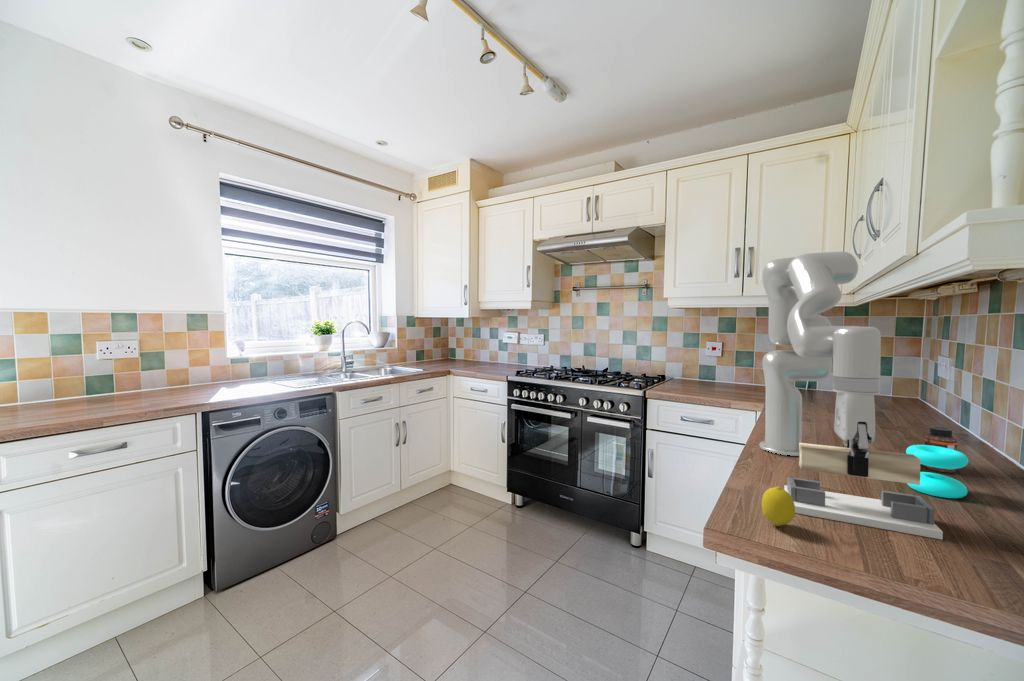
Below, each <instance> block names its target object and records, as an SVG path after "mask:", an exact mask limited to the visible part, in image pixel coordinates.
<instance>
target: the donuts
mask: <svg viewBox="0 0 1024 681" xmlns="http://www.w3.org/2000/svg"><path fill="white" fill-rule="evenodd" d="M905 450H906V451H905V452H906V453H905V454H913V455H915V456H916V457H918V458H919V459H920V465H923V466H924V465H927V466H931V467H936V468H943V469H956V470H957V469H962V468H964V467H966V466H967V465H968V464H969V458H968V456H967V455H966V454H965V453H963V452H962V451H958V450H957V451H956V450H953V449H949V448H944V447H938V446H931V445H925V444H912V445H910V446H908V447H907V448H906V449H905ZM906 485H907V486H908V487H909V488H911V489H913V490H914V491H917V492H919V493H921V494H922V493H923V494H925V495H928V496H933V497H938V498H945V499H961V498H964V497H966V496H967V495H968V488H967V486H966V485H965V484H964V483H963V482H961V481H960V480H957V479H955V478H954V477H950V476H948V475H945V474H942V473H941V474H940V473H936V472H928V471H920V485H916V484H909V483H906Z"/></svg>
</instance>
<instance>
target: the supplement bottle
mask: <svg viewBox="0 0 1024 681" xmlns="http://www.w3.org/2000/svg"><path fill="white" fill-rule="evenodd" d="M929 428H930V429H929V433H927V434H925V436H924V445H931V446H938V447H944V448H949V449H953V450H956V451H958V440H957V439H956V438H955V437H954V435H953V429H952V428H948V427H943V426H930V427H929ZM923 466H924V467H925V468H926V469H928V470H932V471H935V472H940V473H945V472H946V473H945V474H947V473H948V474H953V473H956V471H957V469H943V468H936V467H931V466H927V465H923Z"/></svg>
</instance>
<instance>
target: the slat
mask: <svg viewBox="0 0 1024 681" xmlns="http://www.w3.org/2000/svg"><path fill="white" fill-rule="evenodd" d="M848 455H850V452H849V448H845V447H843V446H834V445H824V444H816V443H815V444H814V443H805V442H802V443H799V456H798V466H799V467H800V470H802V471H803V470H804V471H809V472H810V471H811V472H817V473H825V474H834V475H839V476H840V475H841V476H842V475H843V476H847V477H848V476H849V477H857V478H864V479H865V478H866V479H871V480H879V481H888V482H896V483H901V484H907V483H909V484H916V485H920V472H921V464H920V459H919V458H918V457H916V456H915V455H913V454H907V453H902V452H892V451H882V450H873V449H868V477H861V476H854V475H849V474H848V473H847V462H848Z"/></svg>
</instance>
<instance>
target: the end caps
mask: <svg viewBox="0 0 1024 681" xmlns="http://www.w3.org/2000/svg"><path fill="white" fill-rule="evenodd" d="M786 477H787V484H786V485H787V490H788V493H789V494H790V495H791V497H792V499H793V501H795V502H801V503H807V504H813V505H819V506H825V491H826V490H822V489H821V482H820V481H819V480H814V479H813V480H812V479H805V478H799V477H791V476H786ZM880 497H881V499H880V500H881V504H882V506H886V507H891V517H892V518H896V519H902V520H908V521H914V522H920V523H926V524H932V525H934V523H935V508H933V507H932V506H931V505H930V504H929V503H928V502H927V501H926V500H925V499H924V498H923V497H922V496H921V495H917V494H911V493H902V492H895V491H888V490H881V496H880Z"/></svg>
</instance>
